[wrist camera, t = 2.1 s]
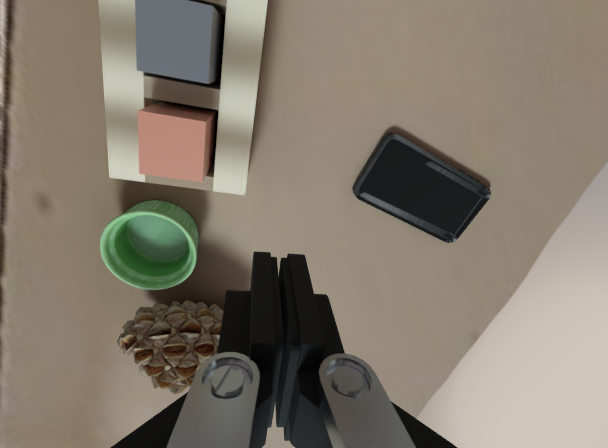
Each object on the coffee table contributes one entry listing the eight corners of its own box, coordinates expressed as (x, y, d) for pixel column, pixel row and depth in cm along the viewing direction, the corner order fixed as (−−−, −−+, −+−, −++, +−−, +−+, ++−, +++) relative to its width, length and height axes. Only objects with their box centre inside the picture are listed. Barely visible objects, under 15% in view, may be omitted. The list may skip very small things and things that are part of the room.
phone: (452, 245, 41) (350, 195, 36) (447, 241, 42) (347, 191, 37) (495, 190, 38) (391, 129, 33) (489, 187, 39) (387, 127, 34)
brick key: (159, 101, 27) (137, 110, 23) (215, 111, 28) (205, 121, 23) (159, 155, 29) (139, 173, 24) (212, 162, 30) (202, 182, 25)
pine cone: (128, 328, 41) (91, 401, 33) (146, 267, 38) (111, 330, 29) (290, 365, 47) (296, 435, 39) (318, 316, 44) (333, 380, 35)
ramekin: (142, 177, 34) (126, 192, 30) (219, 224, 37) (214, 243, 33) (102, 241, 36) (82, 263, 32) (177, 279, 39) (168, 303, 35)
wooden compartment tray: (125, -145, 23) (85, -206, 18) (279, -99, 25) (284, -143, 20) (134, 158, 33) (109, 177, 27) (247, 174, 35) (244, 195, 29)
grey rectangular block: (160, 2, 25) (134, -12, 20) (222, 16, 25) (212, 5, 20) (160, 69, 26) (136, 70, 21) (217, 80, 27) (208, 83, 22)
